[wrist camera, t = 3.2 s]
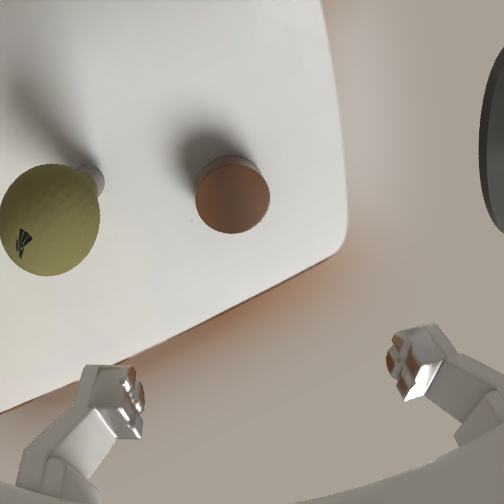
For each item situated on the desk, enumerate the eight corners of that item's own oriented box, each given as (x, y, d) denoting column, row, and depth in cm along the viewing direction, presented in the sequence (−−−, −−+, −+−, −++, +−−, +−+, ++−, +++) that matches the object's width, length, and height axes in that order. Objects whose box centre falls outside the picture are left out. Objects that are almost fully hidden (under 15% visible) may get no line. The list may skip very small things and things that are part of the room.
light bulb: (60, 135, 18) (-27, 180, 9) (134, 144, 19) (78, 194, 11) (56, 209, 20) (-13, 286, 12) (124, 220, 22) (80, 309, 13)
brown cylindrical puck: (261, 151, 21) (267, 159, 18) (266, 214, 23) (272, 228, 21) (191, 161, 20) (189, 170, 18) (202, 223, 23) (201, 239, 21)
